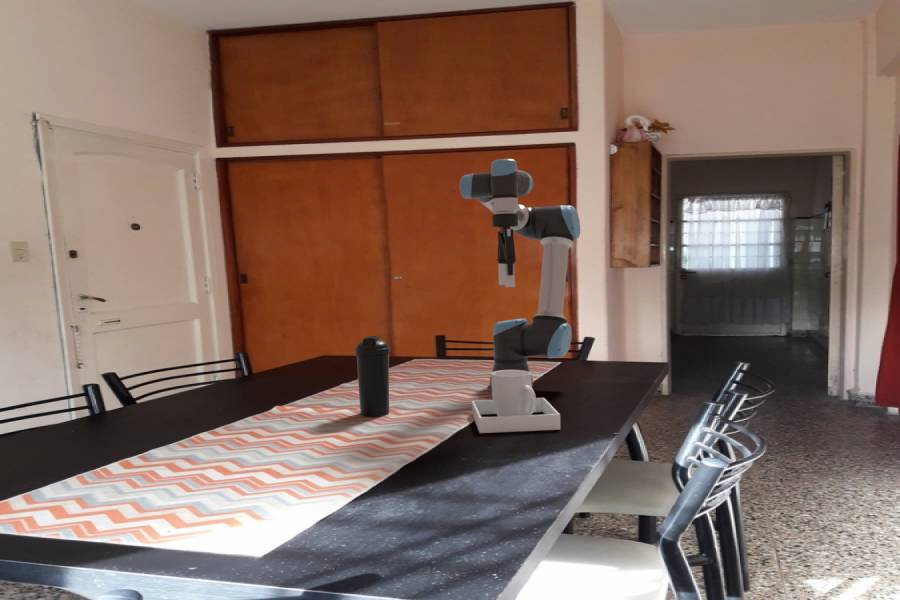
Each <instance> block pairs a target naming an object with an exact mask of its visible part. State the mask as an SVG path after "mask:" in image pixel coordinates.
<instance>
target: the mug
mask: <svg viewBox="0 0 900 600" xmlns="http://www.w3.org/2000/svg"><path fill="white" fill-rule="evenodd" d="M530 372H531V371H530ZM530 372H529V371H524V370H500V371H495V372H492V371H491V374H490V377H491V379H492V381H491V382H492V387H491V395H492V397H491V398H492V399H491V400H493V404H494V407H495V411H496V413H497V414H496V416H498V417H500V416H523V415H533V413H535V412H534V411H535V409H536V398H537V397H536V393H535V391H534V389H533V386H532V385H531V375H532V373H530ZM530 403H531V406H530ZM529 408H530V410H529Z"/></svg>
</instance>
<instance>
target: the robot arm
mask: <svg viewBox="0 0 900 600" xmlns="http://www.w3.org/2000/svg"><path fill="white" fill-rule="evenodd" d="M533 186H534V182H533V178H532V176H531V175H530V174H529V173H527V172H526V171H523V170H519V169H518V165H517V161H516V160H515V159H512V158H504V159H503V158H501V159H496V160H493V161H492V162H491V165H490V172H482V173H481V172H480V173H478V172H477V173H470V174H465V175H462V176H461V177H460V180H459V192H460V195H461V197H462V198H463V199H466V200H467V199H470V200H472V199H476V201H478V202H480V204H482V205H483V206H485V207H486V208H487V209H488V210H489V211H490V212H492V213H493V214H492V216H491V222H492V225H491V226H492V227H493V228H500V229H499V230H498V231H497V238H498V239H497V257H496V261H497V264H498V265H497V267H498V285H499V286H504V287H505V288H515V287H516V279H515V277H516V273H515V271H516V269H515V263H516V261H517V258H516V252H515V251H516V250H515V239H514V234H516V235H518V236H520V237H522V238H526V239H529V240H535V241H537V240H539V241H540V242H539V243H540V244H541V245H542V247H543V253H542V254H543V255H542V264H541V276H540V282H539V283H540V285H539V295H538V296H539V297H538V307H537V313H535V314H534V315H533V316H532V321H531V322H528V320H527V319H526V318H525V317H524V318H516V319H515V318H514V319H508V320H507V319H506V320H501V321H497V322H495V323H494V324H493V332H492V333H493V334H492V337H493V338H492V339H493V367H492V370H491V373H492V372H495V371H500V370H524V371H529V372H530V373H531V371H530V370H531V369H530V367H529V364H528V358H529V357H530V358H548V359H559V358H560V359H561V358H563V357H565V356H566V355H567V353H568V352H569V350H570V346H571V342H572V338H573V333H572V332H573V331H572V326H571V324H569V323H568V319H567V317H566V316H564V306H565V296H566V295H565V294H566V293H565V292H566V281H567V270H568V259H569V249H570V248H571V247H573V246H574V241H575V240H577V239H579V237H580V235H581V222H580V218H579V213H578V211H577V209H576V208H575V207H574V206H572V205H562V204H561V205H554V206H553V205H551V206H531V207H526V206H525V205H523V204H520V203H519V201H518V200H519V198H518V197H524V196H527V195H528V194H529V193H530V192H531V191H532V190H533ZM491 381H492V379H491V376H490V377H489V387H490V388H492V382H491ZM531 385H532V387H533V386H534V380H533V375H532V373H531Z"/></svg>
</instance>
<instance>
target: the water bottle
mask: <svg viewBox="0 0 900 600" xmlns="http://www.w3.org/2000/svg"><path fill="white" fill-rule="evenodd" d="M381 337H382V335H366V336H365V337H363V338H362V340H361V341H360V342H359V343H358V344H356V347H355V348H354V349H355V350H354V354H355V357H356V366H357V379H358V382H357V383H358V393H359V394H358V395H359V396H358V397H359V409H360V410H359V412H360V415H361V416H362V417H366V418H374V417H375V418H376V417H377V418H378V417H384V416H386V415H389V414H390V354H391V353H390V352H391V348H390V347H391V346H389V344H388V343H387V342H386V341H385V340H382V339H380V338H381Z"/></svg>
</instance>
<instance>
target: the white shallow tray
mask: <svg viewBox="0 0 900 600" xmlns="http://www.w3.org/2000/svg"><path fill="white" fill-rule="evenodd" d="M530 406H531V403H530ZM529 410H530V408H529ZM533 413H543V414H531V415H523V416H500V417H498V415H497V413H496V411H495V407H494V404H493V399H484V400H483V399H481V400H471V415H472V418H473V421H474V423H475V424H476V428H477V431H478V432H479V434H487V433H488V434H491V433H510V432H511V433H513V432H533V431H534V432H536V431H555V430H557V431H558V430H560V431H561V413H559V412H558V410H556V408H554V406H552V404H551V403H550V402H549V401H548V400H547V399H546V398H545V397H536V409H535V411H534V412H533ZM481 415H496V416H481Z"/></svg>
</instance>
